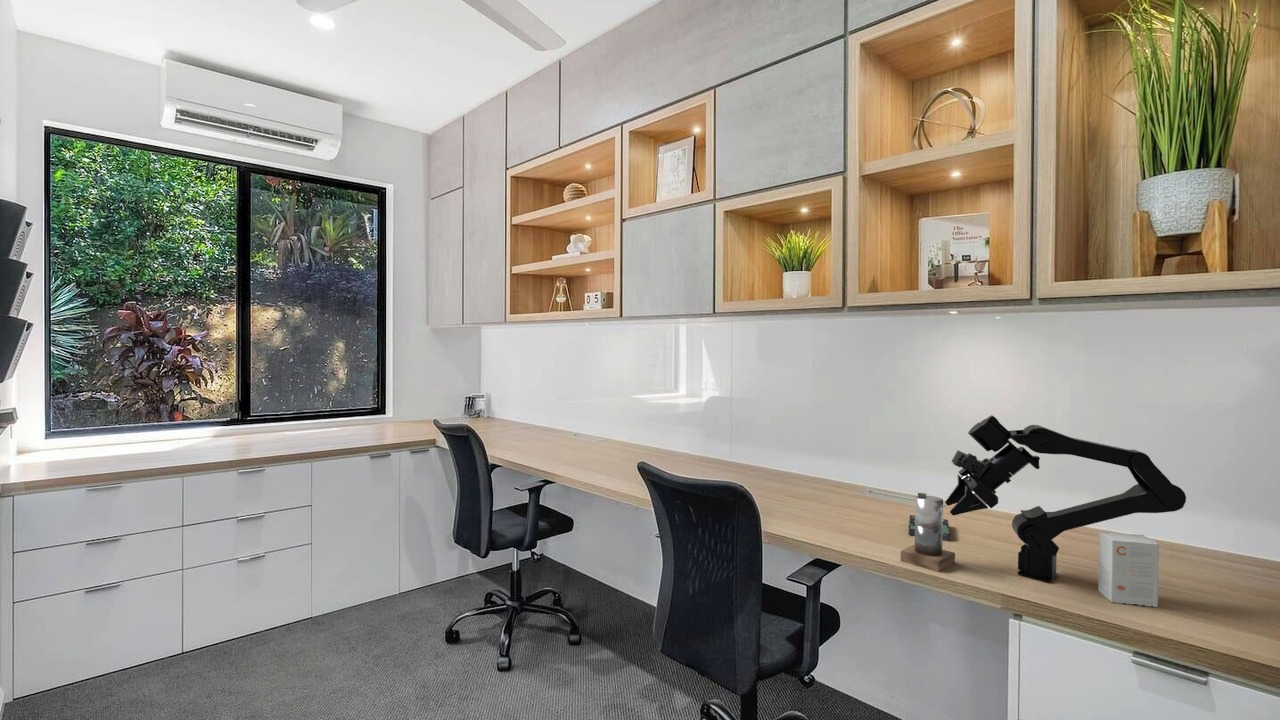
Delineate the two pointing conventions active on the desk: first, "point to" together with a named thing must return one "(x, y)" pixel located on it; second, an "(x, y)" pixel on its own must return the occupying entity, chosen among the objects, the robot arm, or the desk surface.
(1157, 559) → the small box
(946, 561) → the stand
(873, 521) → the desk surface
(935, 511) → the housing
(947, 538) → the disk drive
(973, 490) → the robot arm
